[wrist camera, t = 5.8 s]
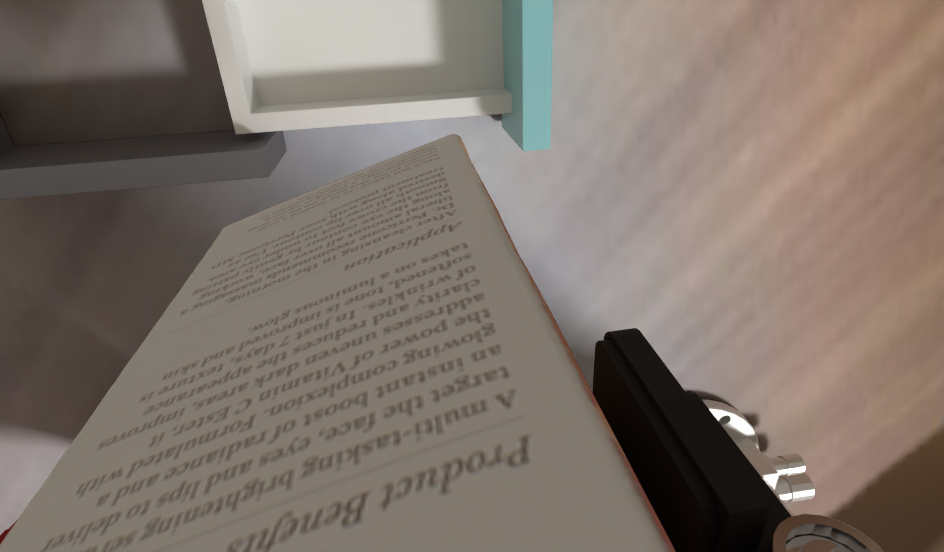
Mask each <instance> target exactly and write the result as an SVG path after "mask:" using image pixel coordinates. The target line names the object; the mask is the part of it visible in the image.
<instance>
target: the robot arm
mask: <svg viewBox="0 0 944 552" xmlns="http://www.w3.org/2000/svg"><path fill="white" fill-rule="evenodd" d="M593 395H594V397H595V399H596V401H597V403H598V405H599V407H600V408H601V410H602V412H603V414H604V416H605V418H606V420H607V422H608V424H609V426H610V428H611V429H612V431H613V433H614V435H615V437H616V439H617V441H618V443H619V445H620V447H621V448H622V450H623V452H624V454H625V456H626V458H627V460H628V462H629V464H630V466H631V467H632V469H633V471H634V473H635V475H636V477H637V479H638V481H639V483H640V485H641V487H642V488H643V490H644V492H645V494H646V496H647V498H648V500H649V502H650V504H651V506H652V507H653V509H654V511H655V513H656V515H657V517H658V519H659V521H660V523H661V525H662V526H663V528H664V530H665V532H666V534H667V536H668V538H669V540H670V542H671V544H672V546H673V548H674V549H675V551H676V552H883V551H882V550H881V548H880V547H879V546H878V545H877V544H876V543H875V542H873V541H872V540H871V539H869V538H868V537H867V536H865V535H864V534H863V533H861V532H860V531H858V530H857V529H854V528H853V527H851V526H849V525H847V524H845V523H843V522H841V521H838V520H835V519H832V518H828V517H825V516H822V515H811V514H802V515H797V516H794V514H793V513H792V512H791V511H790V509H789V508H788V507H787V505H786V504H785V503H784V502H787V503H788V502H795V501H801V500H808V499H813V497H814V496H815V488H814V485H813V482H812V481H811V479H810V478H809V476H808V475H806V474H805V473H804V472H805V464H804V461H803V459H802V458H801V456H799V455H798V454H791V455H784V456H778V457H777V458H769V457H768V456H766V455H763V454H762V453H761V451H760V450H759V442H758V437H757V434H756V432H755V430H754V428H753V426H752V425H751V424H750V423H749V422H748V421H747V419H746V418H745V417H744V416H743V415H742V414H741V413H740V412H739V411H737V410H736V409H735V408H733V407H731V406H729V405H727V404H724V403H722V402H717V401H713V400H706V399H701V398H700V397H699V396H698V395H697V394H696V393H693V392H691V391H687V392H685V391H684V389H683V388H682V387H681V385H680V384H679V383H678V381H677V380H676V379H675V377H674V376H673V375H672V373H671V372H670V371H669V369H668V368H667V367H666V365H665V364H664V363H663V361H662V360H661V359H660V357H659V356H658V355H657V353H656V352H655V351H654V349H653V348H652V347H651V345H650V344H649V343H648V341H647V340H646V339H645V337H644V336H643V335H642V333H641V332H640V331H639V330H638V329H636V328H633V329H625V330H618V331H611V332H607V333H606V334H605V336H604V340H602V341H598V342H597V343H596V346H595V361H594V378H593Z"/></svg>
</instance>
